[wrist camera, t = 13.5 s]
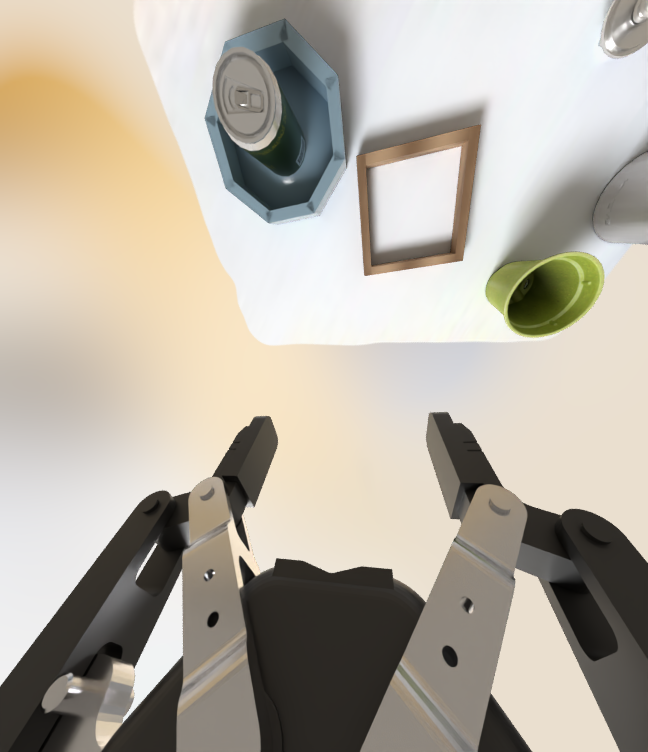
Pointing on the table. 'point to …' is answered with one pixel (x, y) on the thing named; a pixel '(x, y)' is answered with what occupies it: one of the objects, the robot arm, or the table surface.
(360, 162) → the walnut frame
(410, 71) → the table surface
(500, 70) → the table surface
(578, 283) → the plant pot
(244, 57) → the beer can
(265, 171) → the slate bowl
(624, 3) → the screw
